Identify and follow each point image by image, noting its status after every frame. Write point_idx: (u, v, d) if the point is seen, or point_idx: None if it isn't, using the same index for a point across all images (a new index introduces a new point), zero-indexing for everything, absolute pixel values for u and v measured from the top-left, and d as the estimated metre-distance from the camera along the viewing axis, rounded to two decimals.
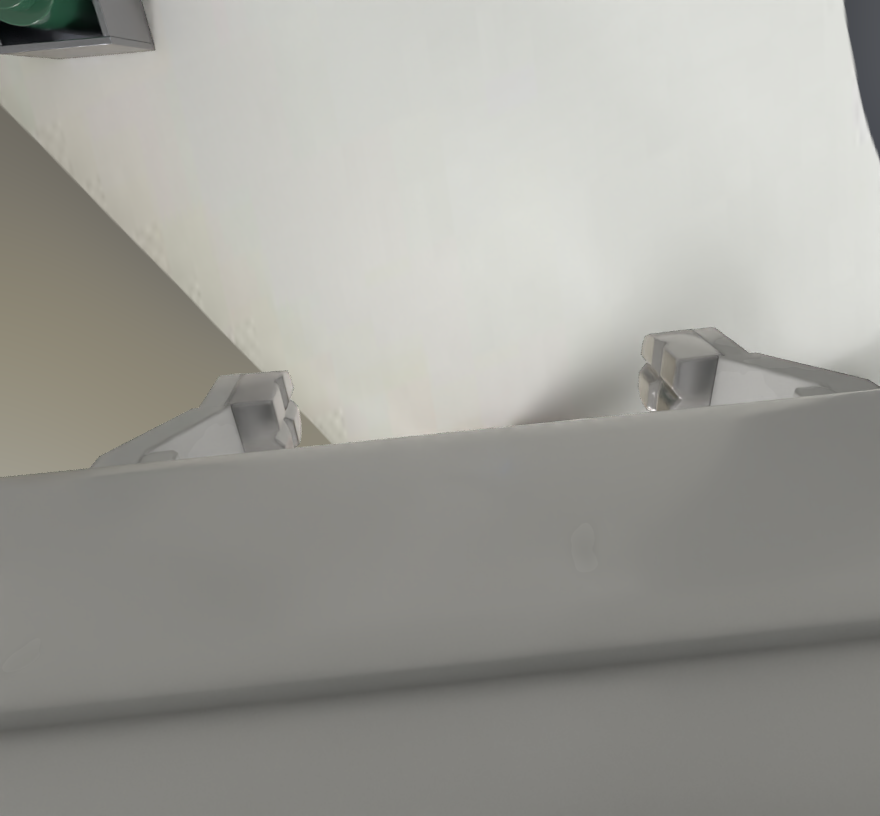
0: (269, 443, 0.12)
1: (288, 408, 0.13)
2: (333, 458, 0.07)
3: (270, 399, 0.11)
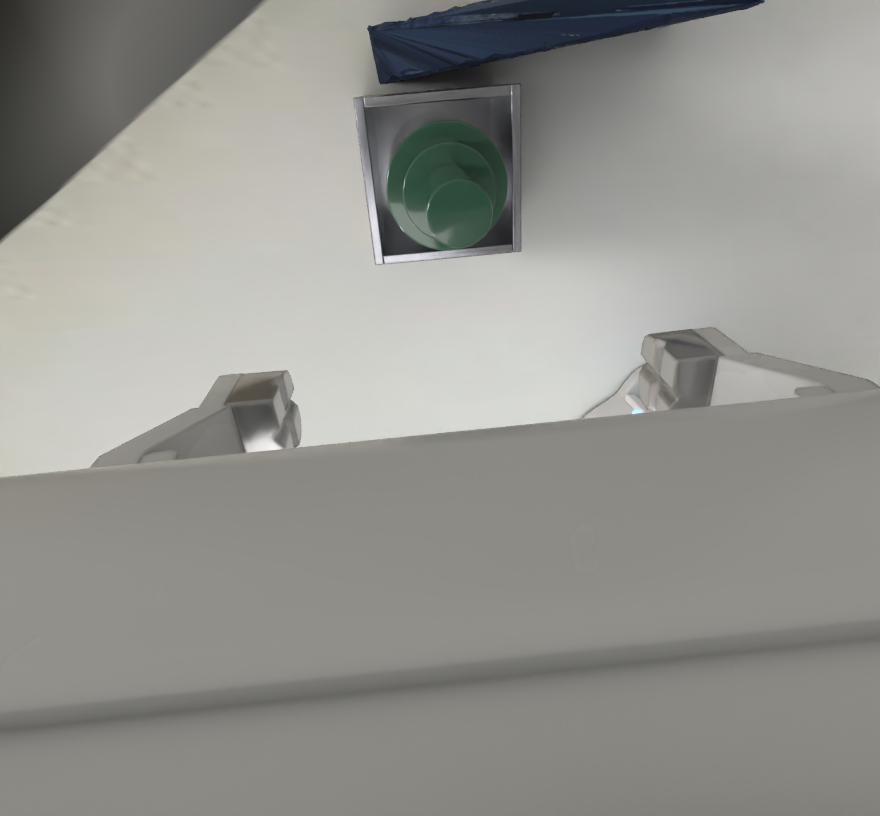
0: (269, 443, 0.12)
1: (288, 408, 0.13)
2: (333, 458, 0.07)
3: (270, 399, 0.11)
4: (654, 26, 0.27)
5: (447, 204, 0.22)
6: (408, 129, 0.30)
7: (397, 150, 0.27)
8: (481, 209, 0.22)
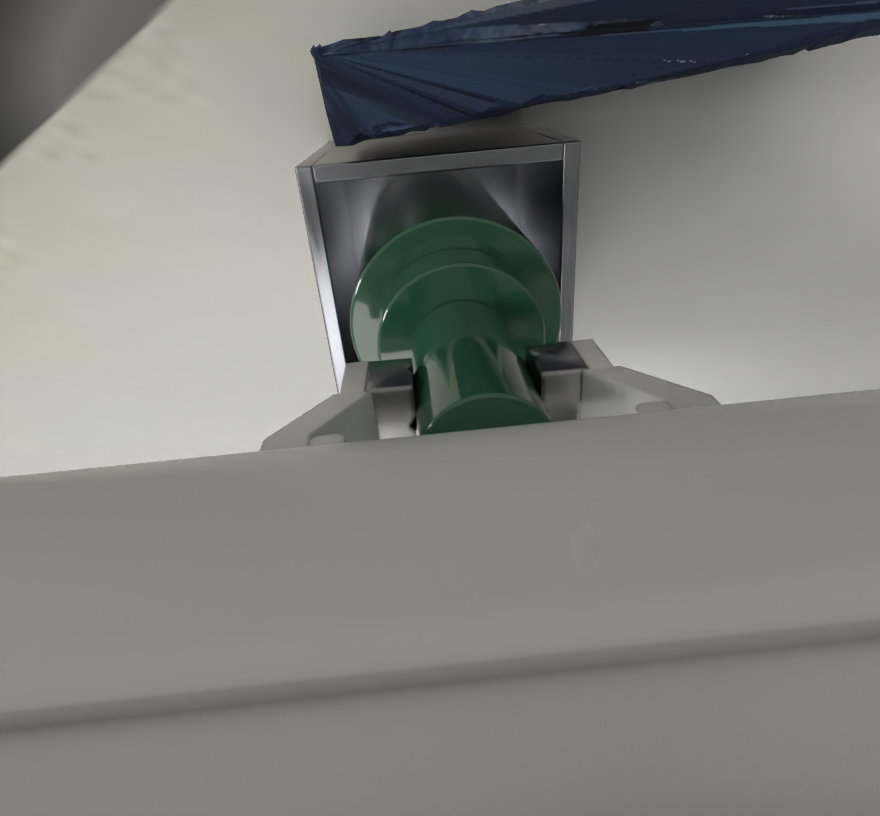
0: (404, 429, 0.12)
1: None
2: (333, 459, 0.07)
3: (410, 386, 0.11)
4: (826, 44, 0.15)
5: None
6: (391, 212, 0.18)
7: (368, 267, 0.15)
8: None
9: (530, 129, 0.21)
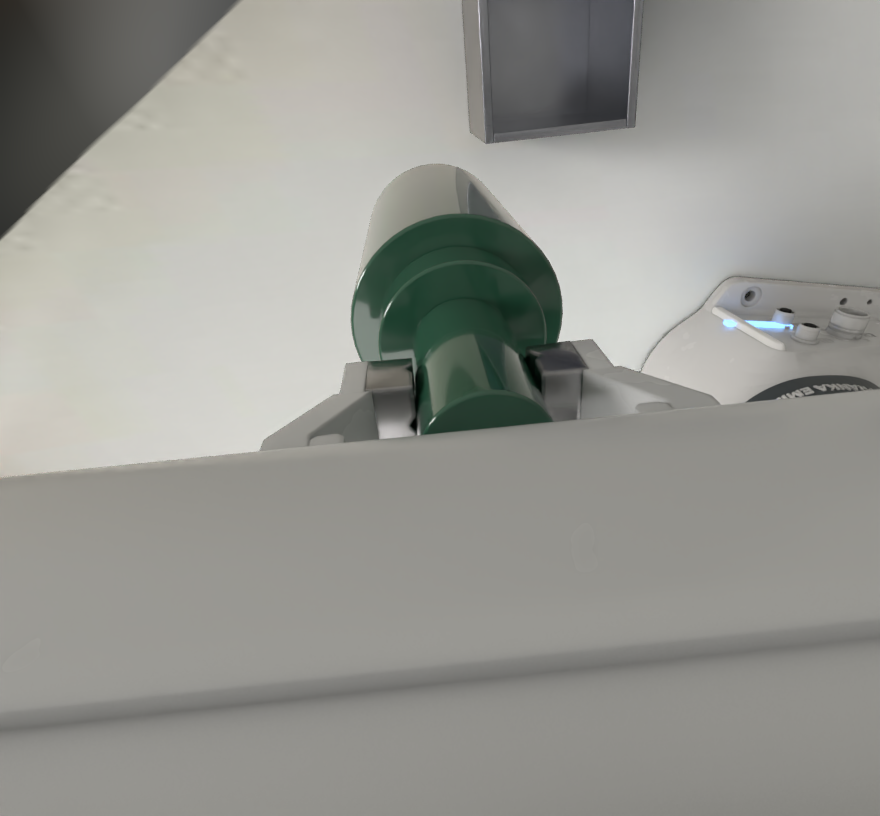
0: (404, 430, 0.12)
1: None
2: (333, 458, 0.07)
3: (410, 386, 0.11)
4: None
5: None
6: (392, 210, 0.18)
7: (369, 264, 0.15)
8: None
9: None
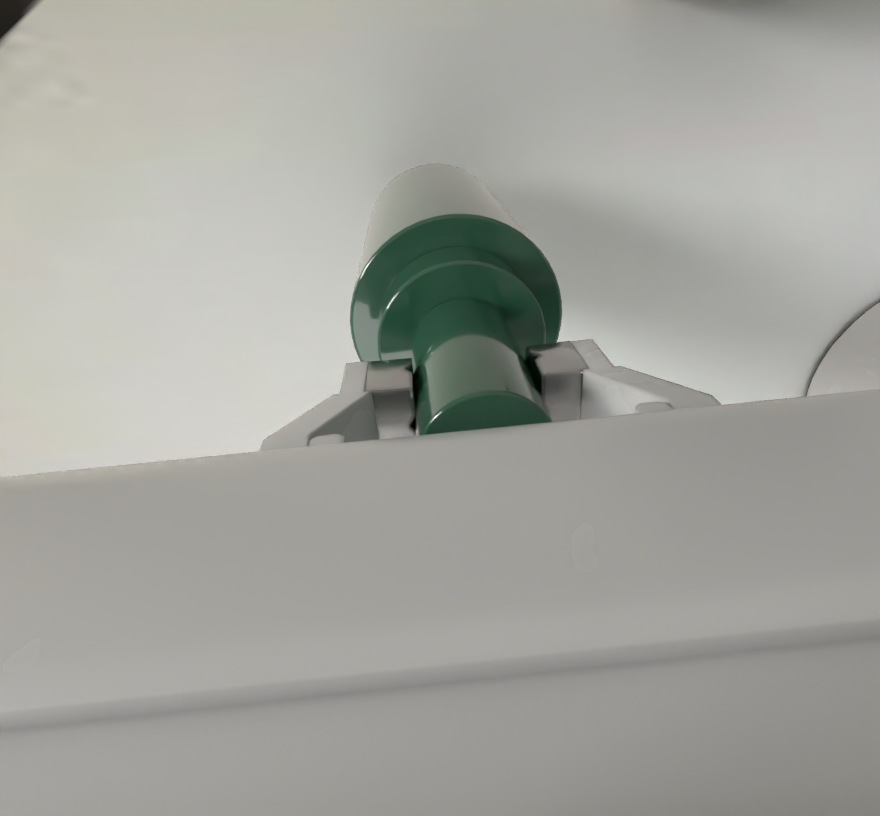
0: (404, 430, 0.12)
1: None
2: (333, 458, 0.07)
3: (409, 386, 0.11)
4: None
5: None
6: (391, 211, 0.18)
7: (368, 265, 0.15)
8: None
9: None
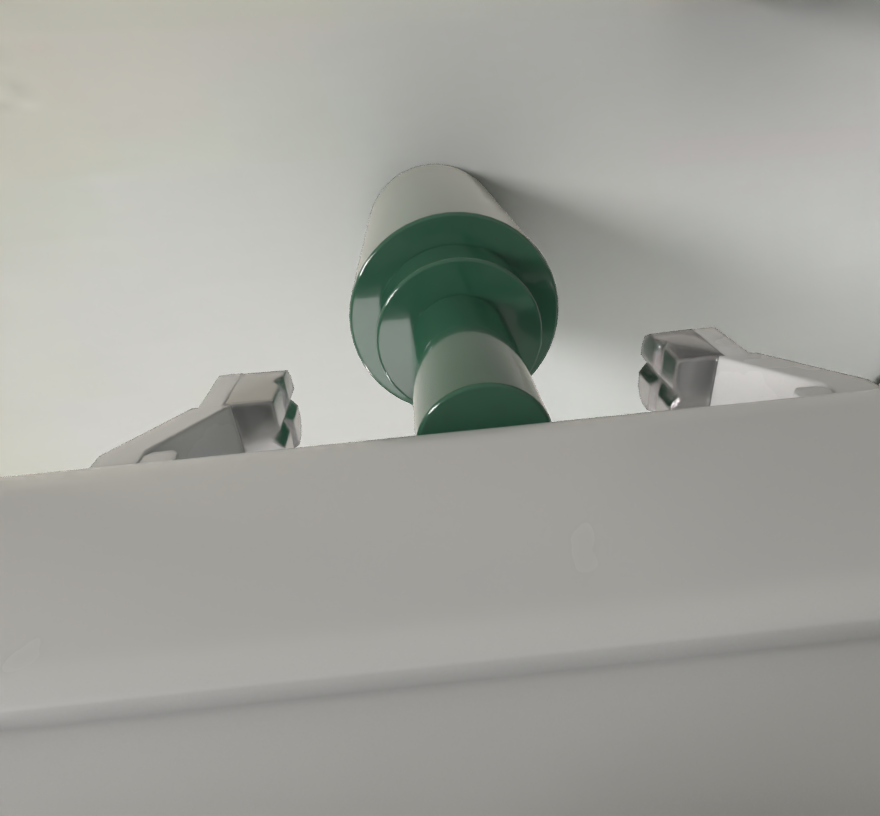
0: (269, 443, 0.12)
1: (288, 408, 0.13)
2: (333, 459, 0.07)
3: (270, 399, 0.11)
4: None
5: None
6: (390, 209, 0.18)
7: (367, 262, 0.15)
8: None
9: None
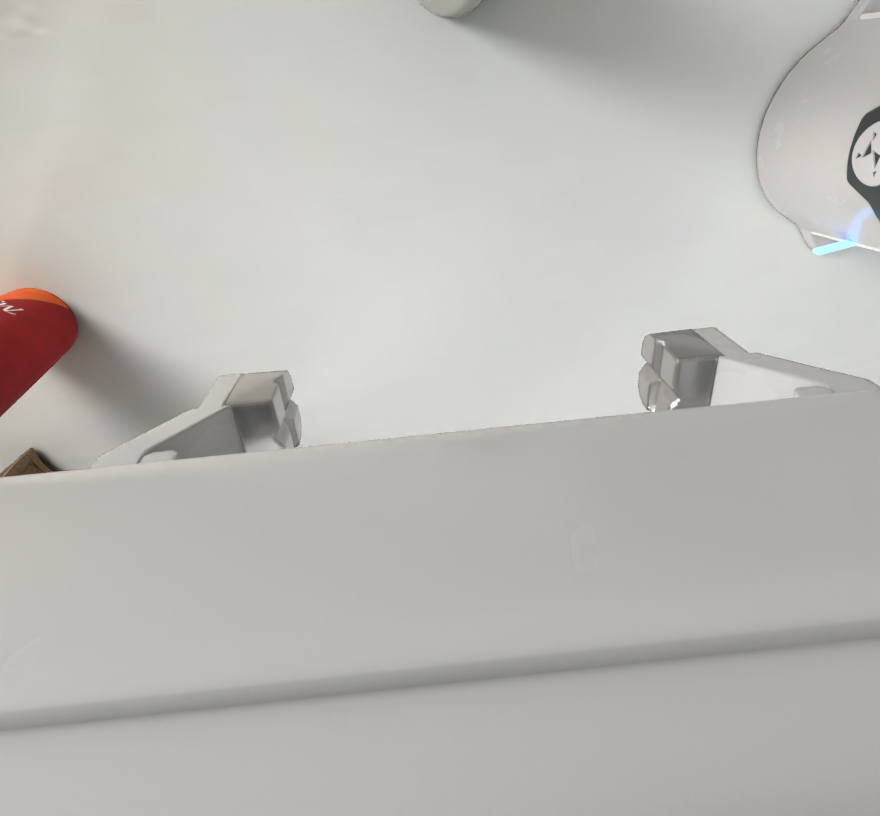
0: (269, 443, 0.12)
1: (288, 408, 0.13)
2: (333, 458, 0.07)
3: (270, 399, 0.11)
4: None
5: None
6: None
7: None
8: None
9: None
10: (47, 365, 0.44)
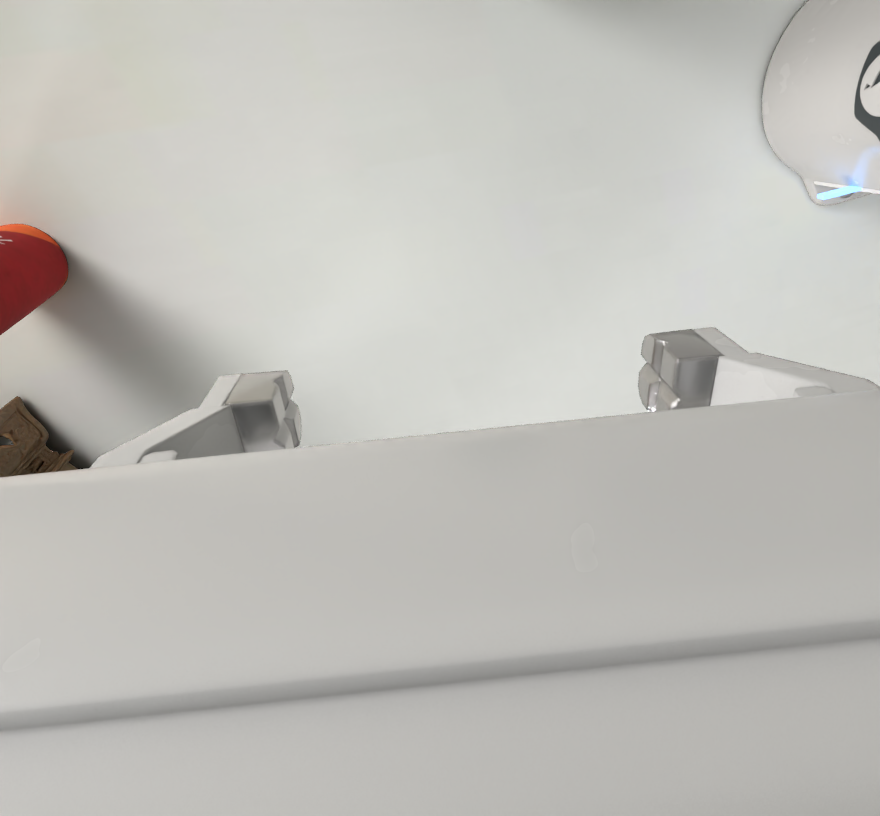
0: (269, 443, 0.12)
1: (288, 408, 0.13)
2: (333, 459, 0.07)
3: (270, 400, 0.11)
4: None
5: None
6: None
7: None
8: None
9: None
10: (36, 300, 0.43)
